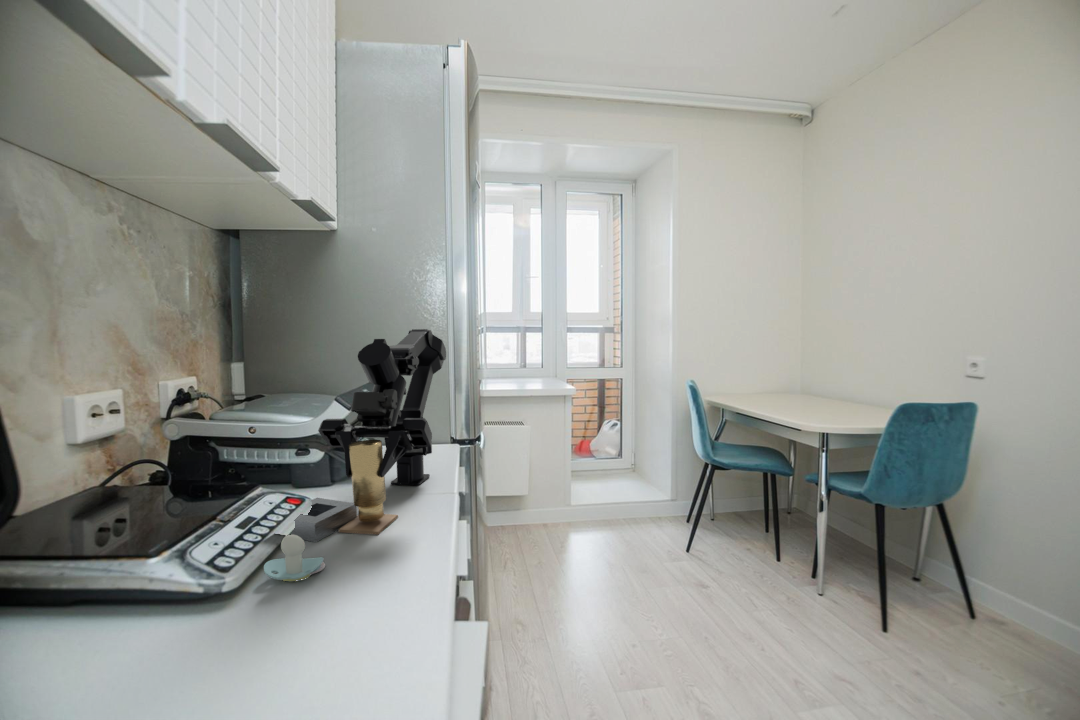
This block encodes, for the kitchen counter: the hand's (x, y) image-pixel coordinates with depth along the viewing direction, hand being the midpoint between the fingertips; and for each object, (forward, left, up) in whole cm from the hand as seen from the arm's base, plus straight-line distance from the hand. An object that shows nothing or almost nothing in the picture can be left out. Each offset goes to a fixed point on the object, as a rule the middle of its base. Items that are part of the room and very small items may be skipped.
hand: (364, 476), depth 78 cm
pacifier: (+15, -1, -9) cm, 18 cm away
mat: (-1, 0, -9) cm, 9 cm away
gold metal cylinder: (-1, 0, -8) cm, 8 cm away
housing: (+1, -9, -9) cm, 12 cm away
